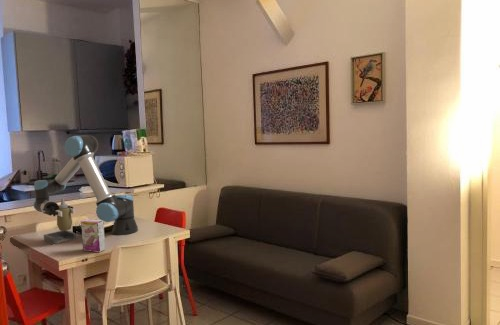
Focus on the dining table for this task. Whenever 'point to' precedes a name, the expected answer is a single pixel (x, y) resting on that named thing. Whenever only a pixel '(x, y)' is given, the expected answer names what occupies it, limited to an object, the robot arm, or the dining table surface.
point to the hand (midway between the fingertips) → (67, 212)
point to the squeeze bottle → (64, 217)
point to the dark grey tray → (59, 237)
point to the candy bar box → (93, 235)
